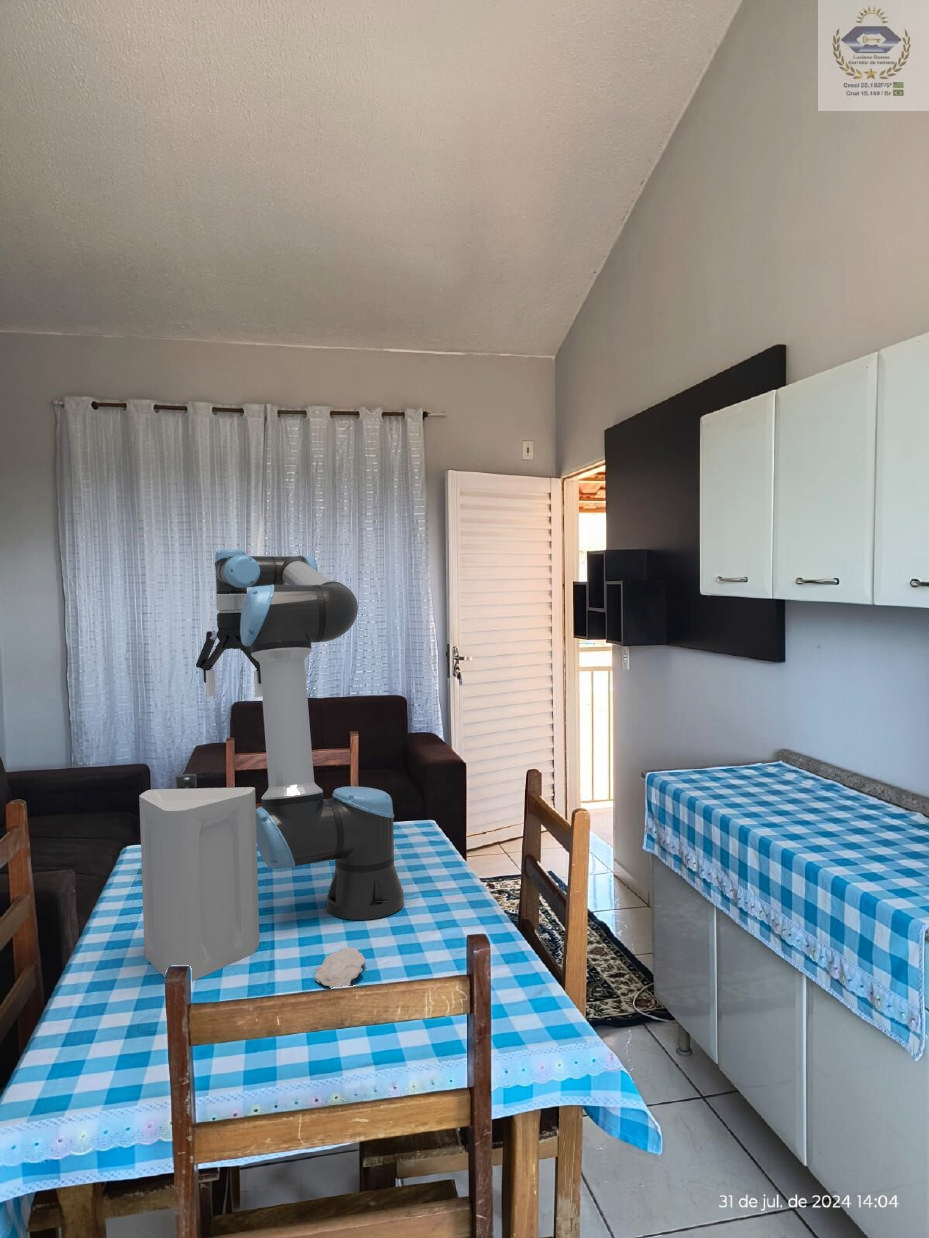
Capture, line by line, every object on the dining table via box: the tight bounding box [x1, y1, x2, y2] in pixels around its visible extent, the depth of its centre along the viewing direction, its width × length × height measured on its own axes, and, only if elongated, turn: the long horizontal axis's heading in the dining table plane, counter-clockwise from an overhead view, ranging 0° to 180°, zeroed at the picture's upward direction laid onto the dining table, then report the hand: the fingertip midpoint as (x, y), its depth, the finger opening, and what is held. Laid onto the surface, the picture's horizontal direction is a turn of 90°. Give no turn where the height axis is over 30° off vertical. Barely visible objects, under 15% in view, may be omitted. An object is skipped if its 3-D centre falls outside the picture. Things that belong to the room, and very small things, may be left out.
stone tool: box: [314, 946, 366, 989], centre depth 133 cm, size 8×3×15 cm
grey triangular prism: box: [138, 786, 260, 982], centre depth 138 cm, size 19×15×28 cm
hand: (234, 696), depth 205 cm, fingers open, 13 cm apart
